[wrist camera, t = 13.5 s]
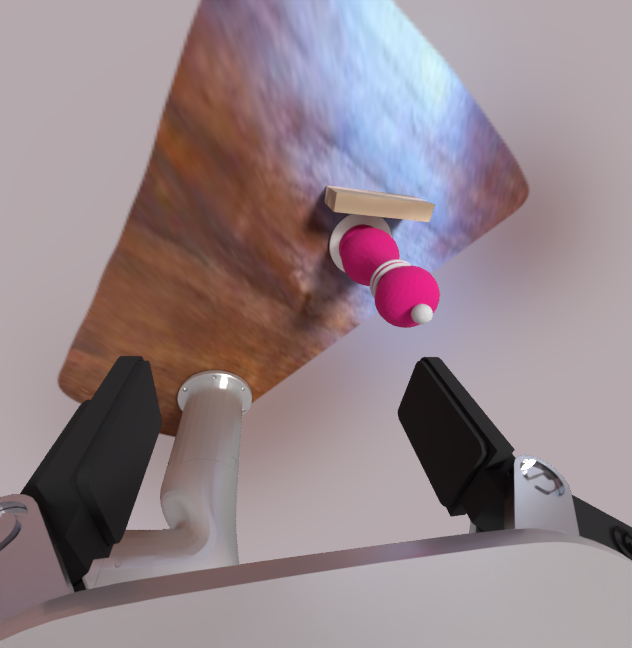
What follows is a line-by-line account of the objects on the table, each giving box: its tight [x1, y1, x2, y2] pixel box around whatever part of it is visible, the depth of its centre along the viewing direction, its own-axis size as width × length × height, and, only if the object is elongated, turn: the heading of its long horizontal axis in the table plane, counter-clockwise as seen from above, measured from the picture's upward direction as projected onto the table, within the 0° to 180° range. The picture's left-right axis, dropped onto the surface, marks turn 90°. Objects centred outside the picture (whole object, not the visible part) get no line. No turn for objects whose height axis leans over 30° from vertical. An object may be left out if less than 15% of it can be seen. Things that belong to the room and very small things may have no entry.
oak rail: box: [324, 186, 435, 222], centre depth 36 cm, size 2×12×6 cm, turn 82°
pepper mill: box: [339, 224, 440, 328], centre depth 33 cm, size 7×7×20 cm
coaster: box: [329, 214, 392, 272], centre depth 42 cm, size 9×9×1 cm
